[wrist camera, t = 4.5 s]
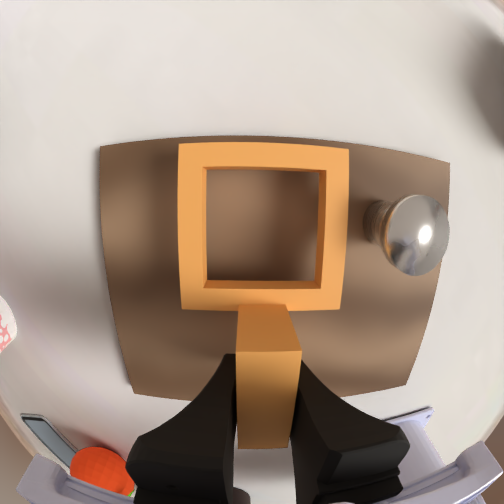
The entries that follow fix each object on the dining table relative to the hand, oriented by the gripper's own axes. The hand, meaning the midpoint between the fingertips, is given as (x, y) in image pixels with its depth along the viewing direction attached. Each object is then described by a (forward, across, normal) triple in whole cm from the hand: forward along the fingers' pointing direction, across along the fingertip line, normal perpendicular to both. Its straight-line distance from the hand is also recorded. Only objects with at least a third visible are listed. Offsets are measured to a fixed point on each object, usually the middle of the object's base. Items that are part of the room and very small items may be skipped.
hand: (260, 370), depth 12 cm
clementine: (+4, +14, +17) cm, 23 cm away
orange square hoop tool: (+2, 0, -4) cm, 4 cm away
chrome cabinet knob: (+3, -6, -7) cm, 10 cm away
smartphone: (+4, +24, +22) cm, 33 cm away
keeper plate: (+4, -2, -2) cm, 5 cm away
